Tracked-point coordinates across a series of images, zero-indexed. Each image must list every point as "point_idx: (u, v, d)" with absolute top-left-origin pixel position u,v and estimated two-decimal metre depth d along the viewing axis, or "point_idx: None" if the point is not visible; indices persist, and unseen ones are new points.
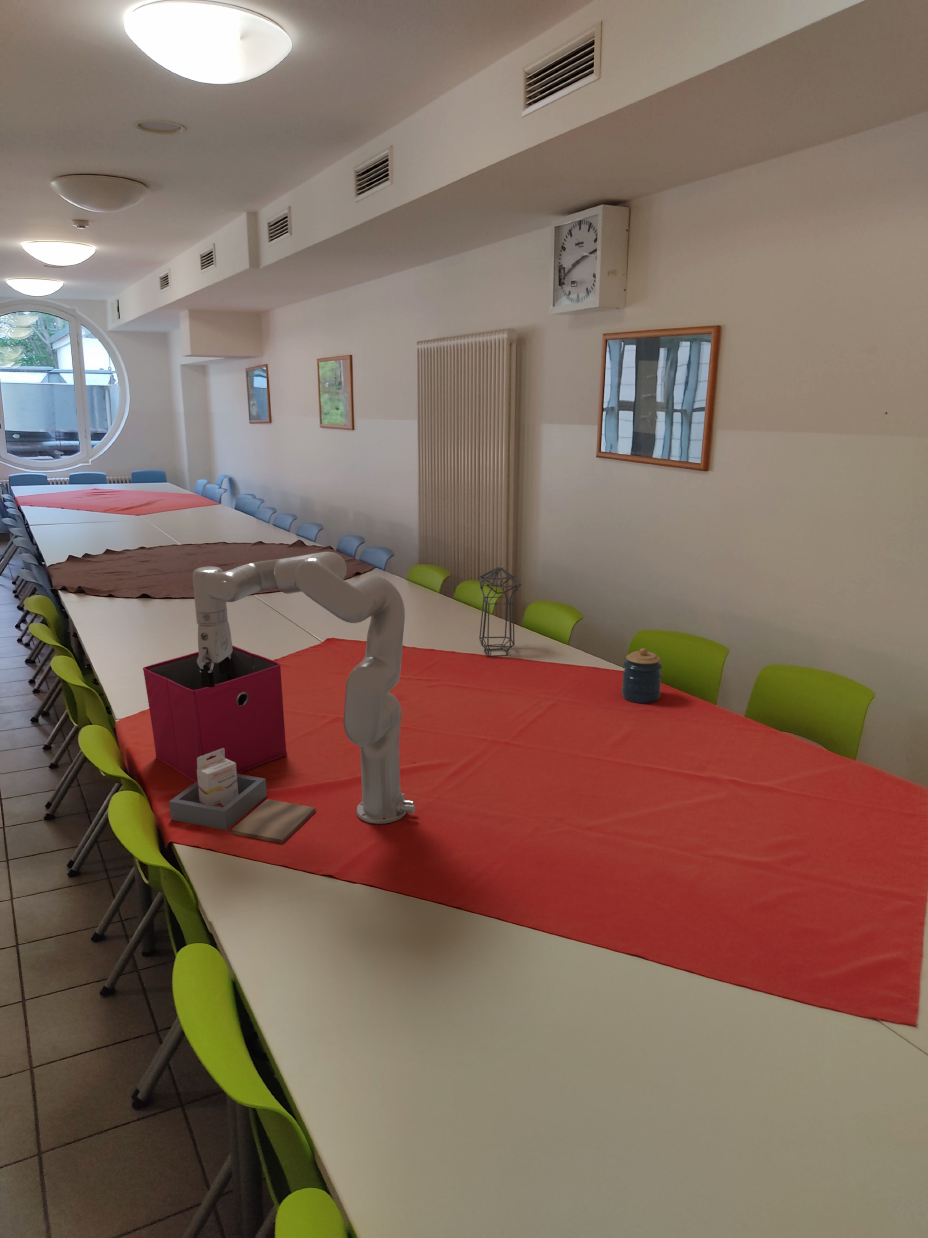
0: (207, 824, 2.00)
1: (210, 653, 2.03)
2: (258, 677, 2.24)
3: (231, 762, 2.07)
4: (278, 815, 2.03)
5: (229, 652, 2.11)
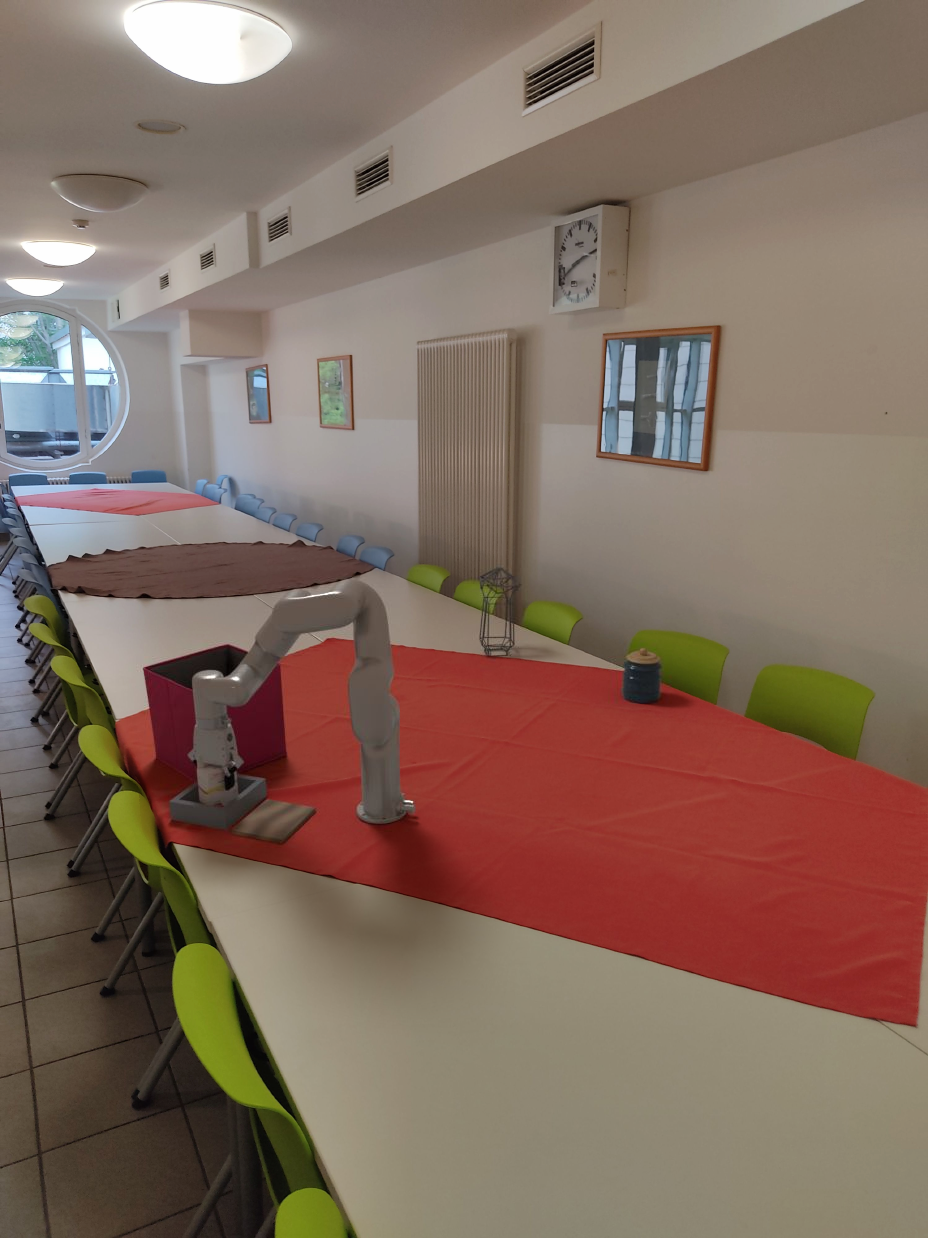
0: (207, 824, 2.00)
1: (235, 751, 2.04)
2: None
3: None
4: (278, 815, 2.03)
5: None
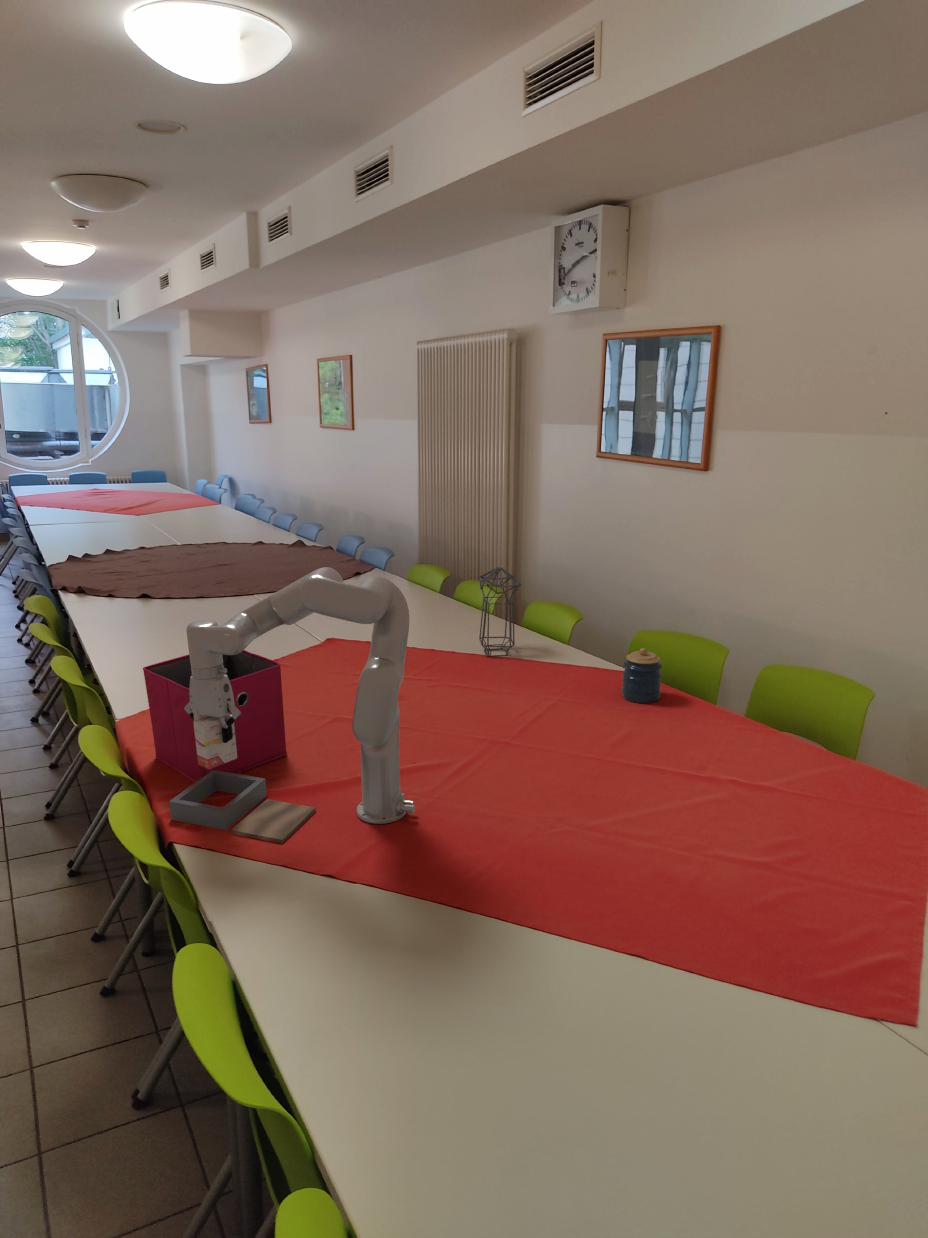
0: (207, 824, 2.00)
1: (232, 702, 2.00)
2: (258, 677, 2.24)
3: None
4: (278, 815, 2.03)
5: None
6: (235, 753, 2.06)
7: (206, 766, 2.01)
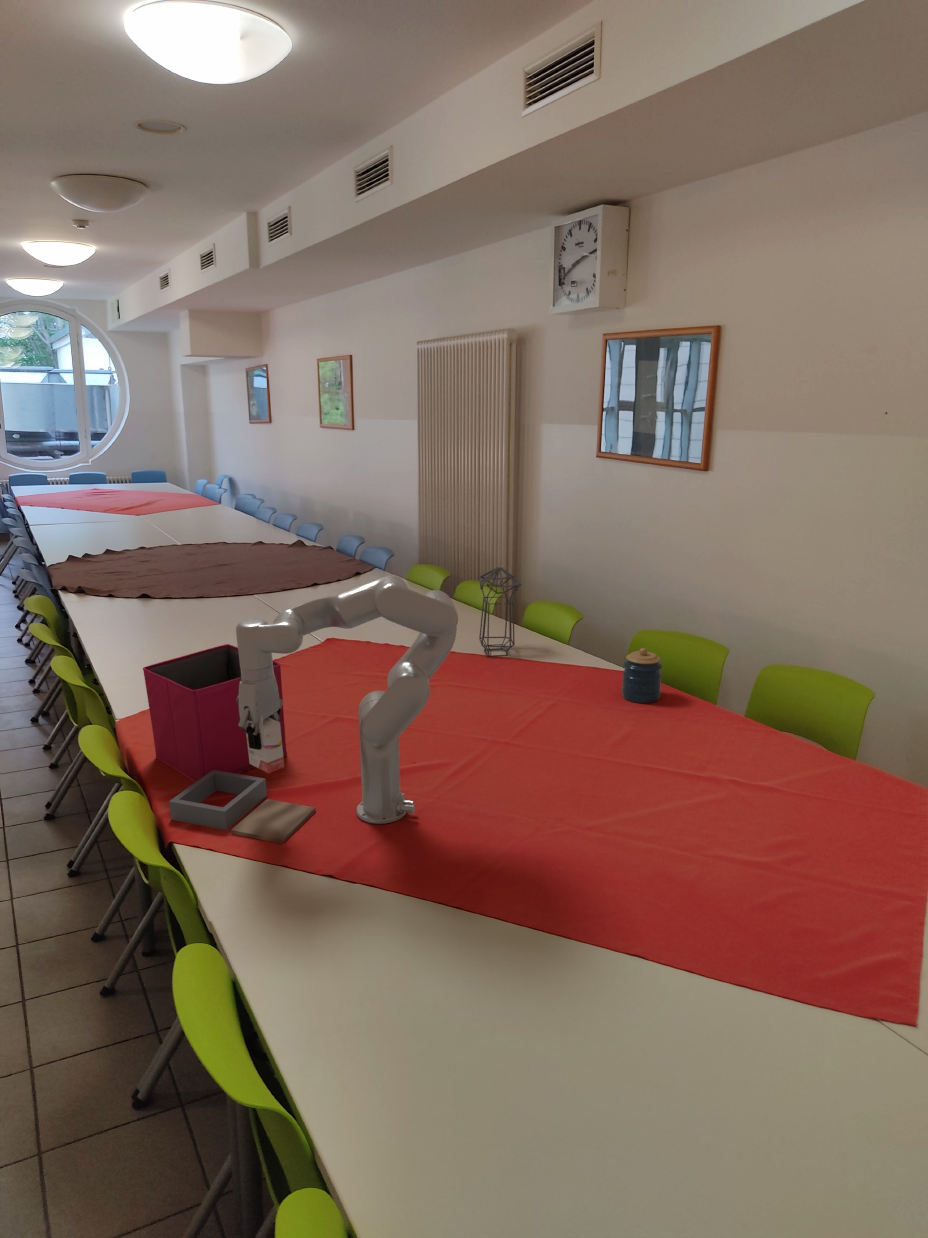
0: (207, 824, 2.00)
1: None
2: None
3: None
4: (278, 815, 2.03)
5: None
6: None
7: (281, 766, 1.96)
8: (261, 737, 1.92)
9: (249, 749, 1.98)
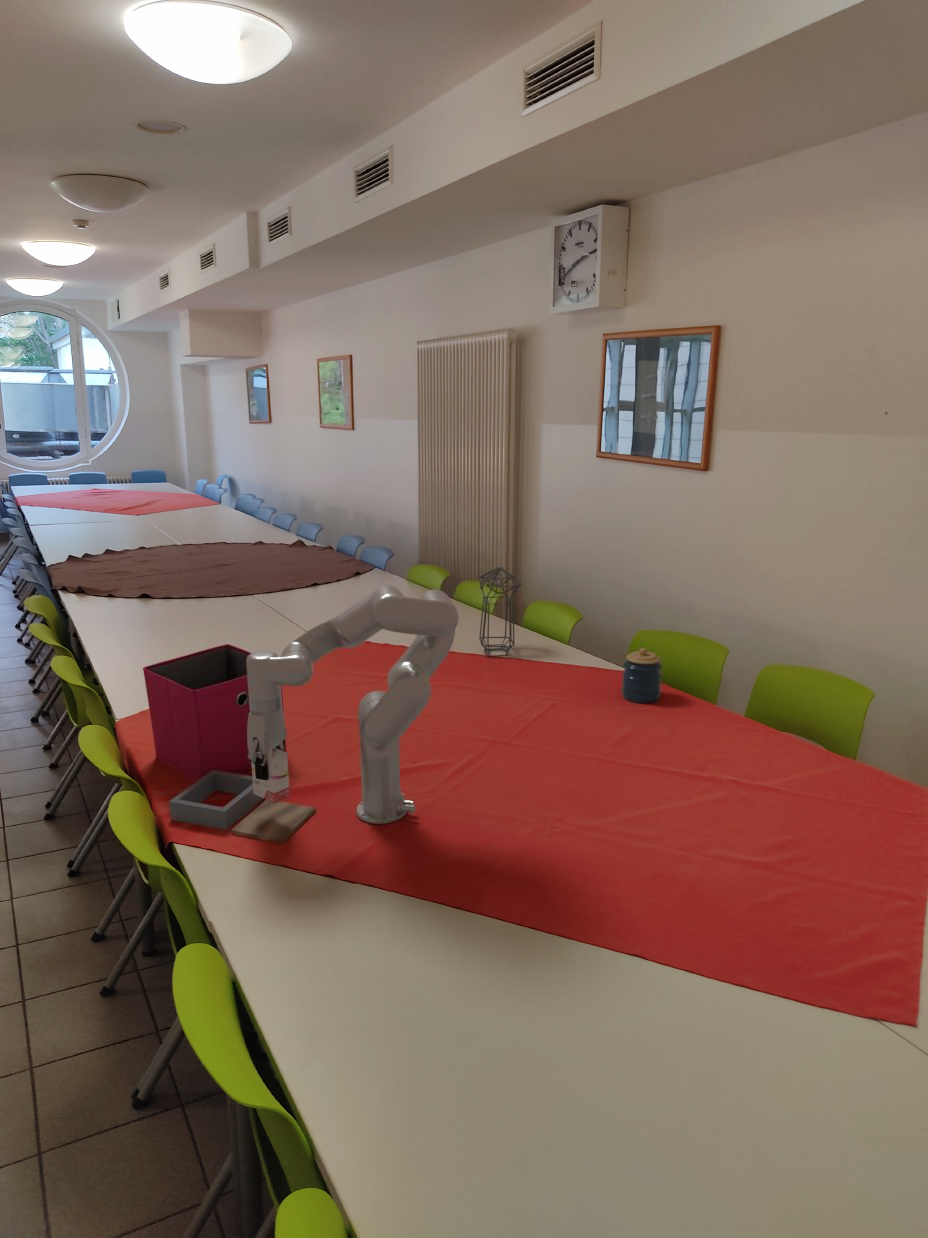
0: (207, 824, 2.00)
1: None
2: None
3: None
4: (278, 815, 2.03)
5: None
6: None
7: (287, 795, 1.98)
8: (269, 768, 1.93)
9: (254, 779, 1.99)
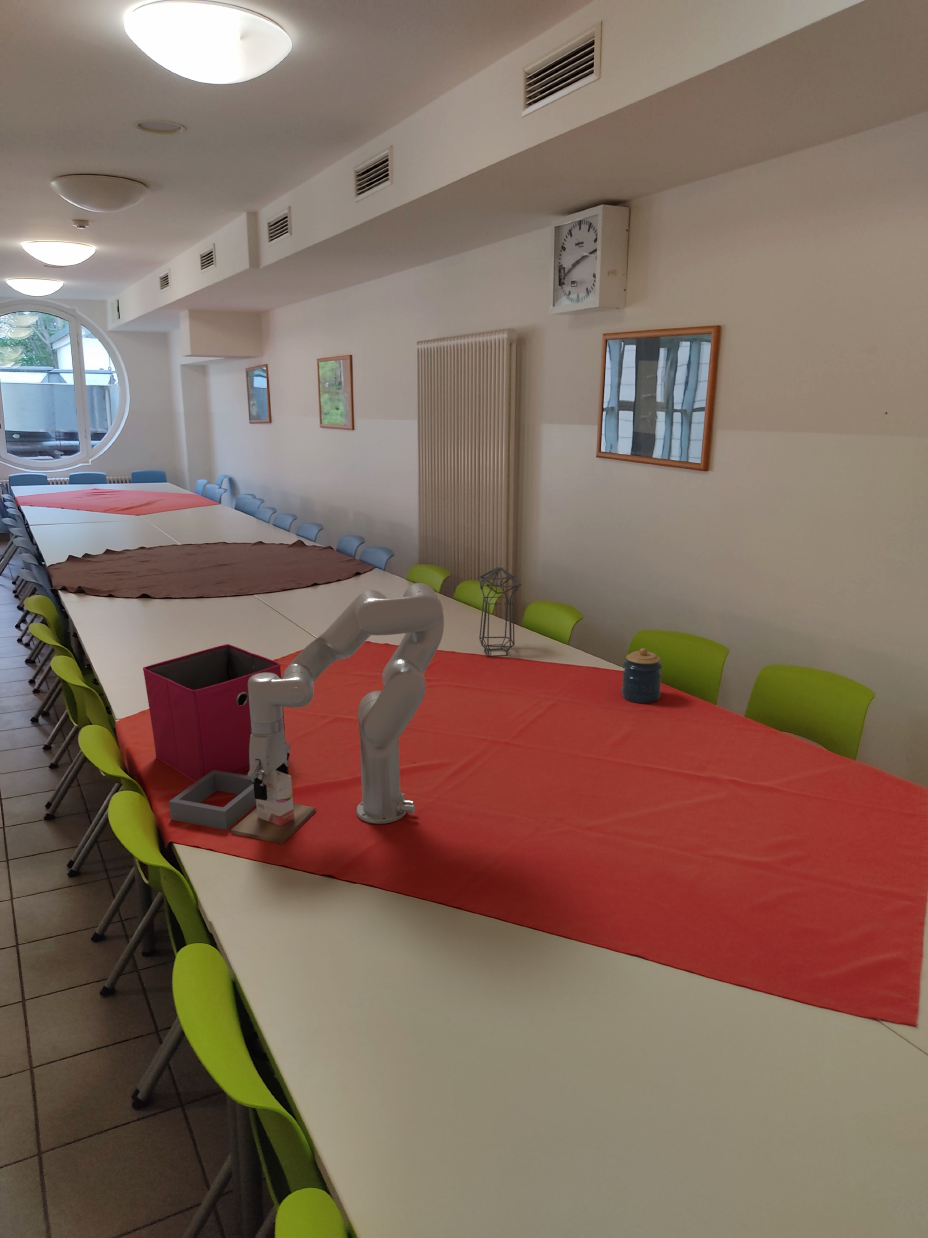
0: (207, 824, 2.00)
1: None
2: None
3: None
4: None
5: None
6: None
7: (291, 818, 2.00)
8: (274, 791, 1.96)
9: (258, 803, 2.00)
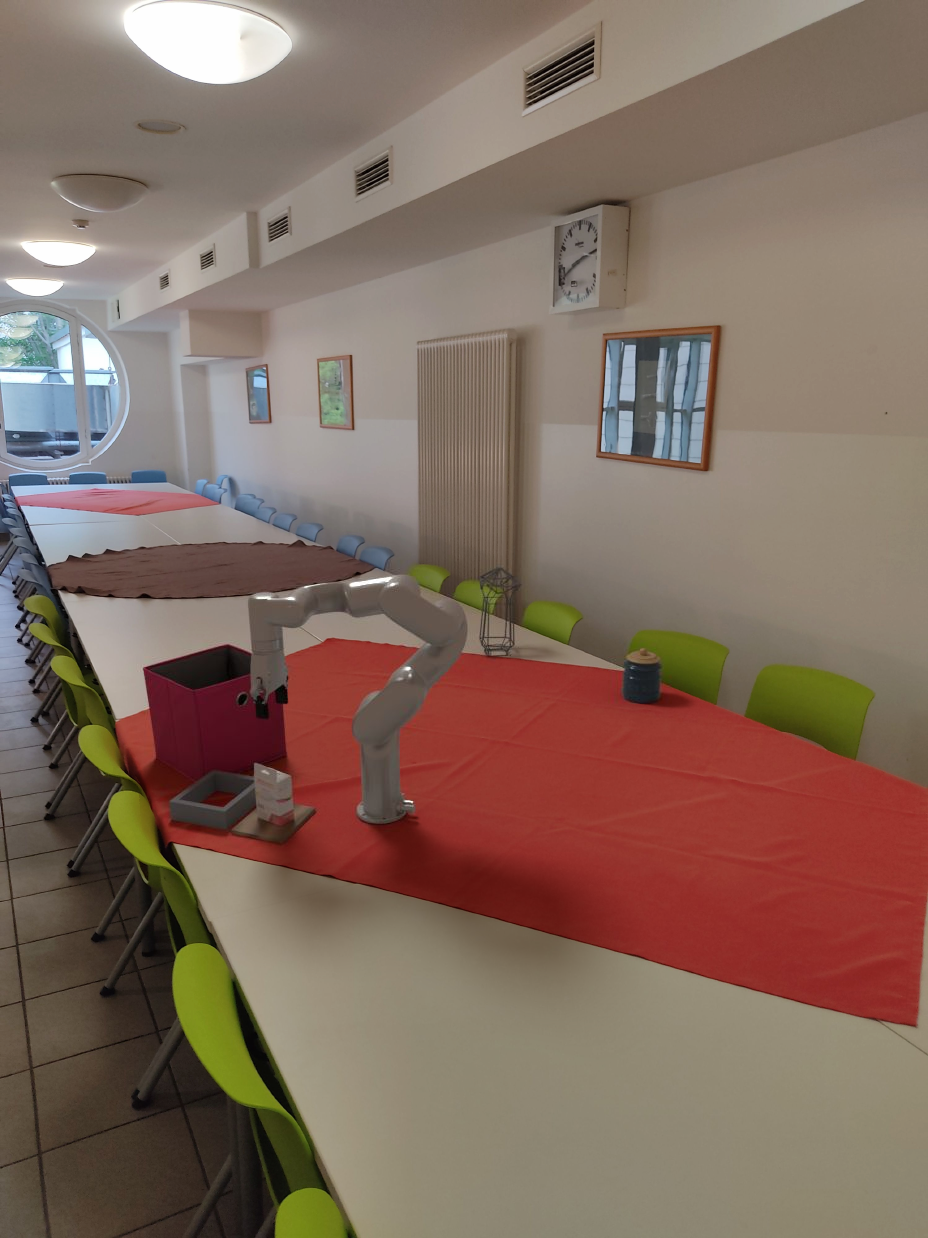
0: (207, 824, 2.00)
1: None
2: None
3: None
4: None
5: None
6: None
7: (291, 818, 2.00)
8: (274, 791, 1.96)
9: (258, 803, 2.00)
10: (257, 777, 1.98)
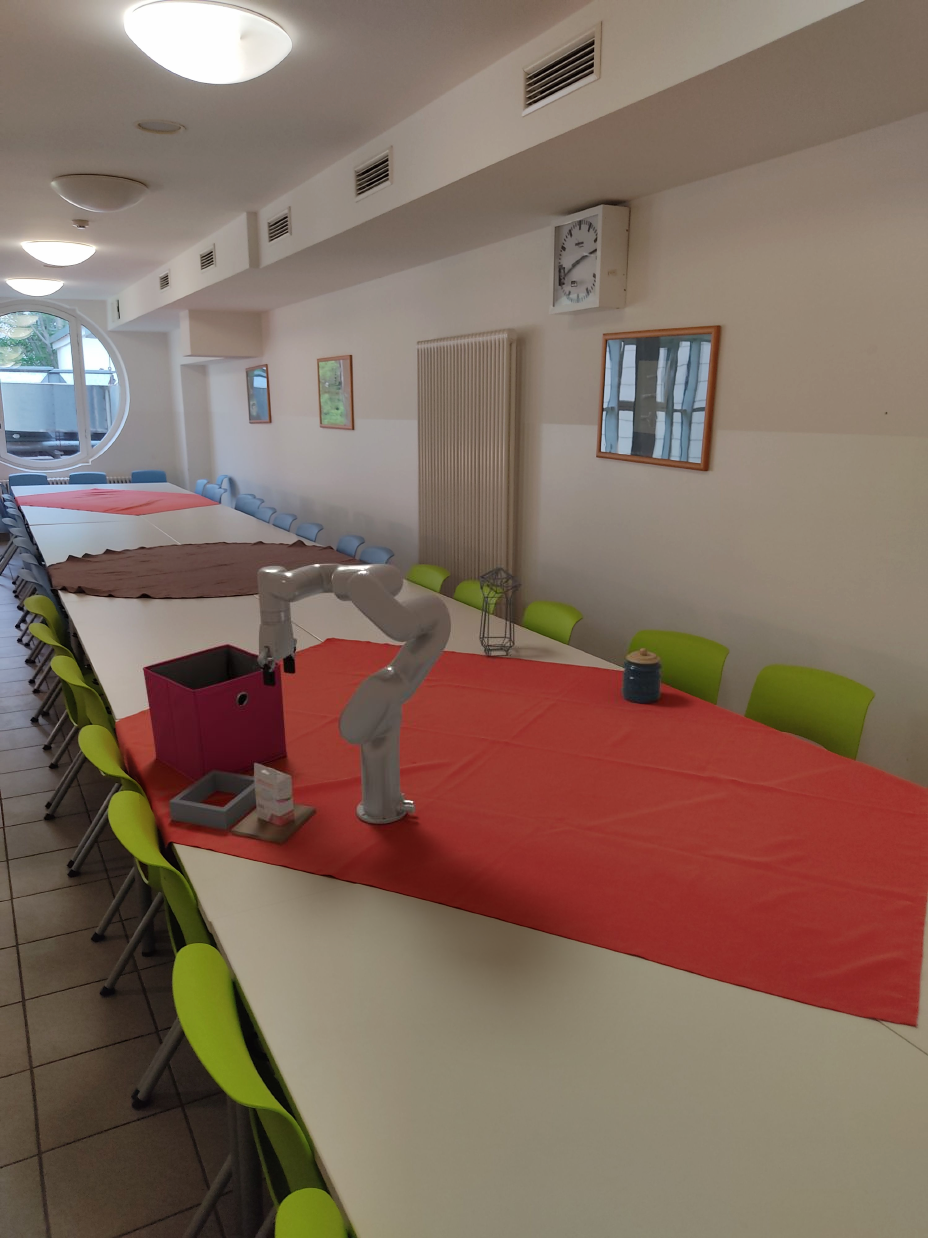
0: (207, 824, 2.00)
1: None
2: (258, 677, 2.24)
3: None
4: None
5: None
6: None
7: (291, 818, 2.00)
8: (274, 791, 1.96)
9: (258, 803, 2.00)
10: (257, 777, 1.98)
